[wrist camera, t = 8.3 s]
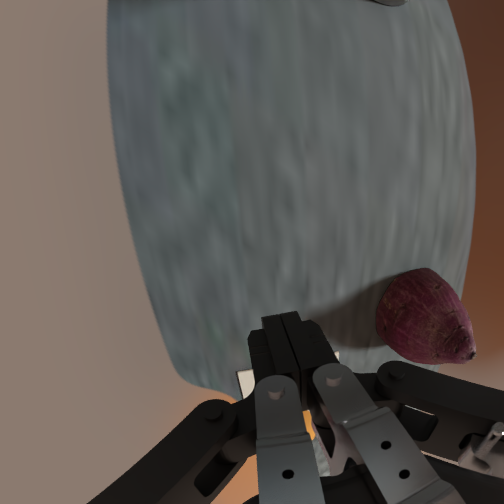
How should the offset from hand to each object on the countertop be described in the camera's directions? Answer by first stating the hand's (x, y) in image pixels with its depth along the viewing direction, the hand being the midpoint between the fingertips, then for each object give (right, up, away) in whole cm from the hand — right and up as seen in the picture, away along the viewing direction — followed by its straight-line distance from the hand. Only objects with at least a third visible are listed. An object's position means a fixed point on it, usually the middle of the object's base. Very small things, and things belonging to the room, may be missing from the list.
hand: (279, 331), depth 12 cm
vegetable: (+18, -3, +19) cm, 26 cm away
